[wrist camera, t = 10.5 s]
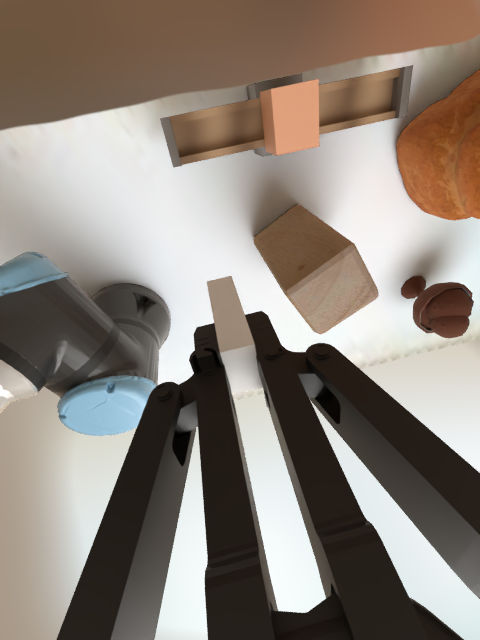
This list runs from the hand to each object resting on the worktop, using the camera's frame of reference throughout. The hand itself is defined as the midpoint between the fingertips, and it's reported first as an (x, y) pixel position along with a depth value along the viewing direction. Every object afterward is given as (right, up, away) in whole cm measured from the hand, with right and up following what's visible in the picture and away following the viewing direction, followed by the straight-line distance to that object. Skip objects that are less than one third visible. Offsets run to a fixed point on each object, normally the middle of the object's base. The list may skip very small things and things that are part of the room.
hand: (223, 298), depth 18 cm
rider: (+6, +24, +19) cm, 31 cm away
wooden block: (+10, +13, +36) cm, 39 cm away
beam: (+5, +28, +24) cm, 37 cm away
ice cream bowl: (+39, +6, +47) cm, 61 cm away
